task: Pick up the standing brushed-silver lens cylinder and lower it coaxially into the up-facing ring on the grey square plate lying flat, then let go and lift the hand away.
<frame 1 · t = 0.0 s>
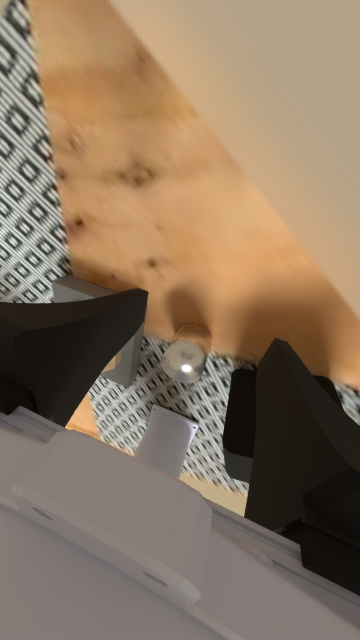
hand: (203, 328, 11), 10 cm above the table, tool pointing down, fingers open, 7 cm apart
grey square plate: (105, 330, 29), on the table
lens: (193, 339, 25), on the table
electronic device: (277, 383, 25), on the table
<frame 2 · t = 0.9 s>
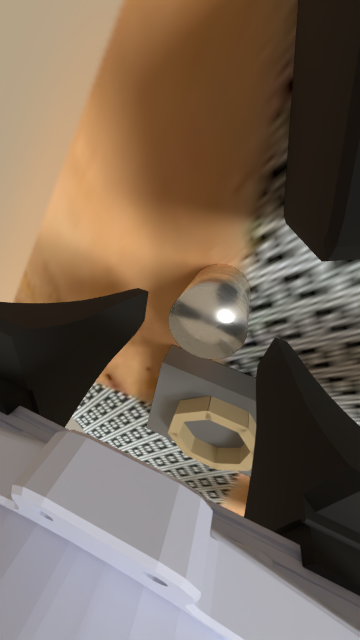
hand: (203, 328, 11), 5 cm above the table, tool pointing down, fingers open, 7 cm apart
grey square plate: (219, 406, 22), on the table
lens: (219, 293, 16), on the table
electronic device: (342, 91, 9), on the table
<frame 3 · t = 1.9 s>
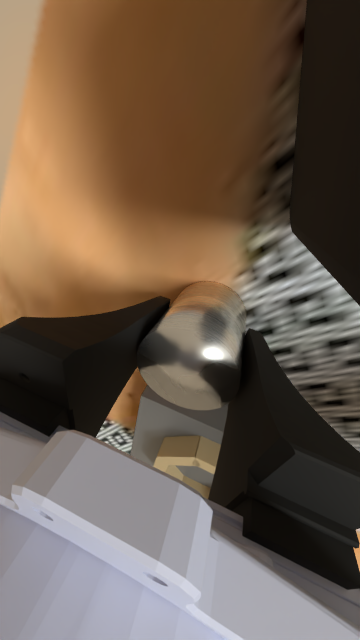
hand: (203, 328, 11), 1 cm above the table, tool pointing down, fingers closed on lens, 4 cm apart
grey square plate: (211, 438, 19), on the table
lens: (208, 315, 13), on the table, touching gripper
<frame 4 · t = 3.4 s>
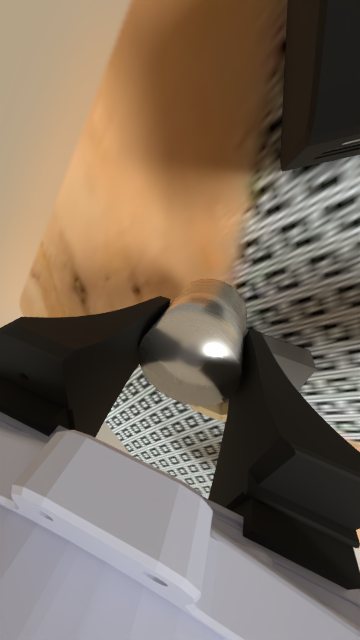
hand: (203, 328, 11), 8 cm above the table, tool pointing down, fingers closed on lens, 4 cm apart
grey square plate: (223, 365, 23), on the table
lens: (209, 313, 13), point 7 cm above the table, touching gripper
electronic device: (328, 49, 11), on the table
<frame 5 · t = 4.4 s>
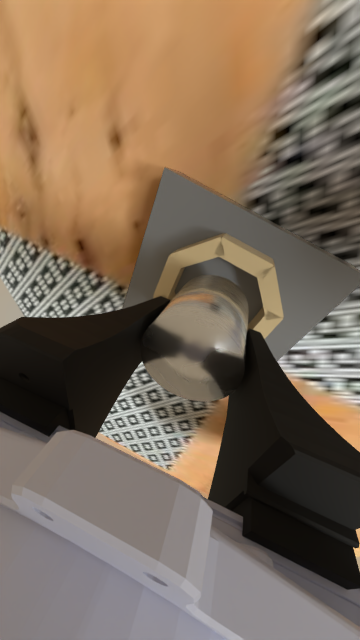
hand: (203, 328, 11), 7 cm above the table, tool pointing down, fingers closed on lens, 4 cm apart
grey square plate: (222, 285, 17), on the table
lens: (210, 310, 13), point 5 cm above the table, touching gripper
when the fingers open (5 cm above the table, at t = 5.1 s): lens drops 1 cm, resting on grey square plate.
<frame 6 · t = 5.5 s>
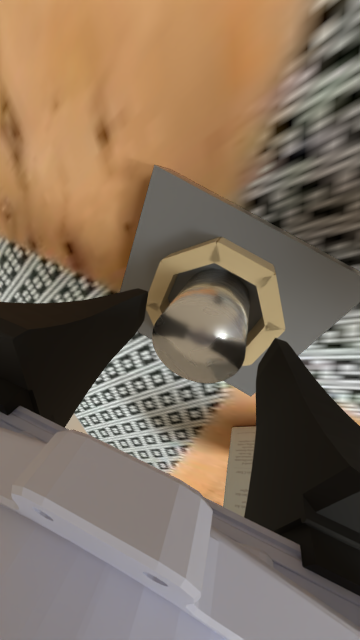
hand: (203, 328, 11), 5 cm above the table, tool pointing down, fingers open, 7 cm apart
grey square plate: (218, 291, 16), on the table
lens: (214, 302, 14), point 3 cm above the table, touching grey square plate
small box: (277, 441, 23), on the table
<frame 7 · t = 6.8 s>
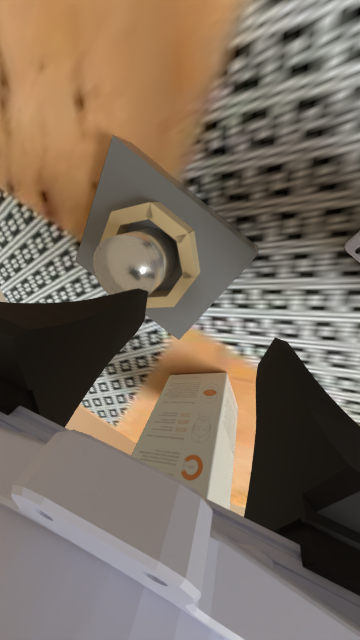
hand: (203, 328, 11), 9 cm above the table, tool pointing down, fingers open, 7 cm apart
grey square plate: (163, 251, 20), on the table
lens: (153, 255, 18), point 3 cm above the table, touching grey square plate
small box: (204, 389, 28), on the table
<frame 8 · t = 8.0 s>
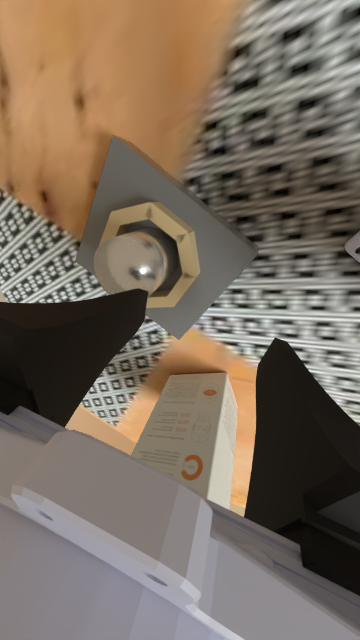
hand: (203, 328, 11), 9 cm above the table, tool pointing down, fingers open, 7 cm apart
grey square plate: (163, 251, 20), on the table
lens: (153, 255, 18), point 3 cm above the table, touching grey square plate
small box: (204, 389, 28), on the table
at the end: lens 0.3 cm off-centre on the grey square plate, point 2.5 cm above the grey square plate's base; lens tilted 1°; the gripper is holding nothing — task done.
